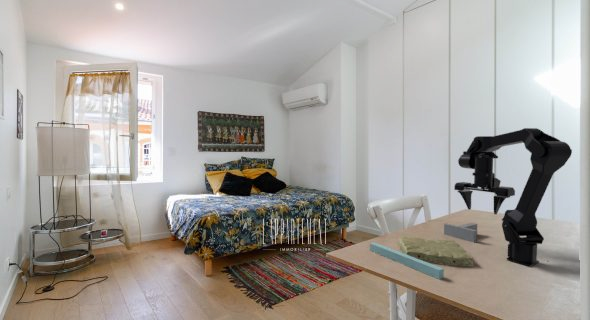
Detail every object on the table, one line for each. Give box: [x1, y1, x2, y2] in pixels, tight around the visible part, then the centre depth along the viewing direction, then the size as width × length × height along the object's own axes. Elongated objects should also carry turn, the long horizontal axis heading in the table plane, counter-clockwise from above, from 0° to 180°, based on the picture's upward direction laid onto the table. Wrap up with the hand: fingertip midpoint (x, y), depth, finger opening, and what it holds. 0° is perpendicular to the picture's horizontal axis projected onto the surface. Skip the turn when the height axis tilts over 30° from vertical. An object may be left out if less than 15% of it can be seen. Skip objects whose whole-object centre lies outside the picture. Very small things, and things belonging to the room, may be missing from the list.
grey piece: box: [443, 222, 478, 244], centre depth 120 cm, size 12×12×4 cm
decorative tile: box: [397, 236, 474, 268], centre depth 100 cm, size 19×20×4 cm
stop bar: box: [369, 241, 445, 280], centre depth 93 cm, size 26×2×2 cm, turn 31°
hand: (482, 211), depth 110 cm, fingers open, 9 cm apart
